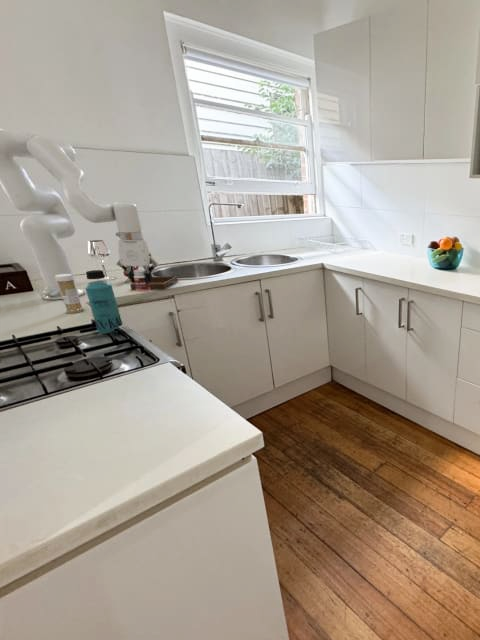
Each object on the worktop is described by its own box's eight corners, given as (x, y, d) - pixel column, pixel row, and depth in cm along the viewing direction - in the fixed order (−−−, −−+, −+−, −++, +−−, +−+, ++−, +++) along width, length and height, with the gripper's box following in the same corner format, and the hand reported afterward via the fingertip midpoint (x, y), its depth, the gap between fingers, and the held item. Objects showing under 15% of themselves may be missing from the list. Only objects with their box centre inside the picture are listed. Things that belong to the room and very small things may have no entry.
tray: (164, 289, 169) (163, 283, 168) (131, 290, 166) (130, 284, 165) (177, 281, 182) (176, 276, 181) (147, 282, 180) (146, 276, 179)
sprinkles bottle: (65, 311, 137) (53, 274, 132) (81, 308, 141) (70, 272, 136) (68, 314, 135) (56, 276, 130) (85, 311, 138) (73, 274, 133)
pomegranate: (135, 287, 179) (149, 271, 184) (120, 276, 174) (135, 260, 178) (128, 286, 183) (142, 271, 187) (113, 276, 178) (128, 260, 182)
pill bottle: (134, 292, 153) (130, 271, 150) (139, 289, 157) (134, 269, 154) (148, 292, 155) (144, 271, 151) (152, 289, 159) (148, 269, 156)
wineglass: (99, 281, 179) (87, 242, 172) (93, 279, 183) (82, 241, 176) (119, 278, 185) (109, 241, 178) (113, 276, 189) (103, 239, 183)
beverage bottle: (97, 334, 117) (77, 270, 110) (123, 329, 122) (106, 267, 114) (101, 340, 113) (80, 274, 106) (127, 335, 118) (109, 271, 110)
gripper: (101, 236, 143) (113, 284, 150) (151, 238, 146) (161, 284, 153) (112, 234, 150) (123, 279, 156) (160, 235, 153) (168, 280, 160)
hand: (141, 281), depth 155 cm, fingers closed on pill bottle, 4 cm apart
